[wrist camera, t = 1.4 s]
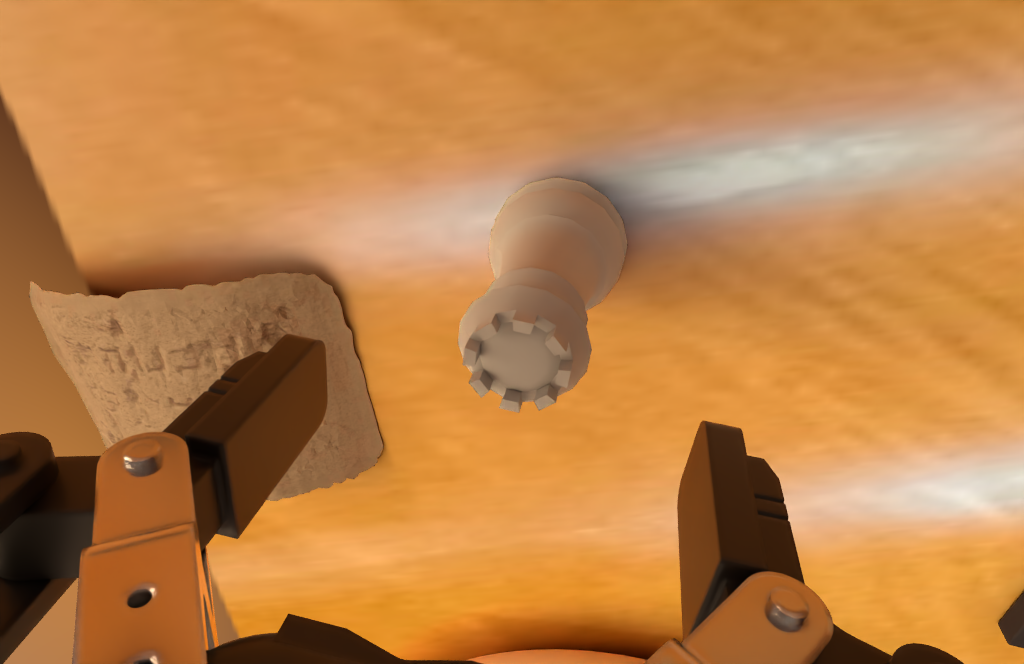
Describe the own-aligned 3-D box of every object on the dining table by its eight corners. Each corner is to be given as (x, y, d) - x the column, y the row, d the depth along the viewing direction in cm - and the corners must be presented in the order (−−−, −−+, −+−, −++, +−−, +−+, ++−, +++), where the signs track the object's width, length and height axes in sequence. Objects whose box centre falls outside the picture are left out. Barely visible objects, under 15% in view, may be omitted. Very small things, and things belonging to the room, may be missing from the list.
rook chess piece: (478, 270, 23) (403, 403, 16) (519, 151, 20) (451, 248, 14) (596, 317, 23) (571, 469, 16) (651, 203, 20) (648, 326, 14)
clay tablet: (120, 461, 32) (78, 500, 29) (16, 274, 27) (-43, 303, 25) (392, 466, 28) (369, 511, 26) (328, 253, 24) (293, 285, 21)
